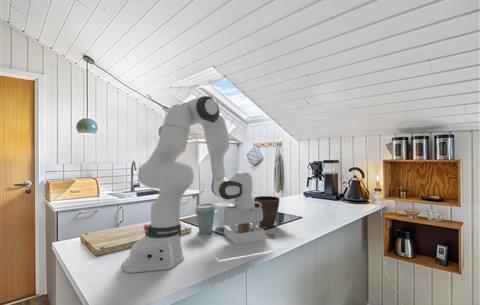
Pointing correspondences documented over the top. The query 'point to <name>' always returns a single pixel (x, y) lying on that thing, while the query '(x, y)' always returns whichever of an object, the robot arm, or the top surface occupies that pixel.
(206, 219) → the disposable coffee cup
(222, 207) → the foam cup
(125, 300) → the top surface
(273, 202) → the plant pot
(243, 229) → the walnut block
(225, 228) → the grey tub
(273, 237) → the cork coaster
